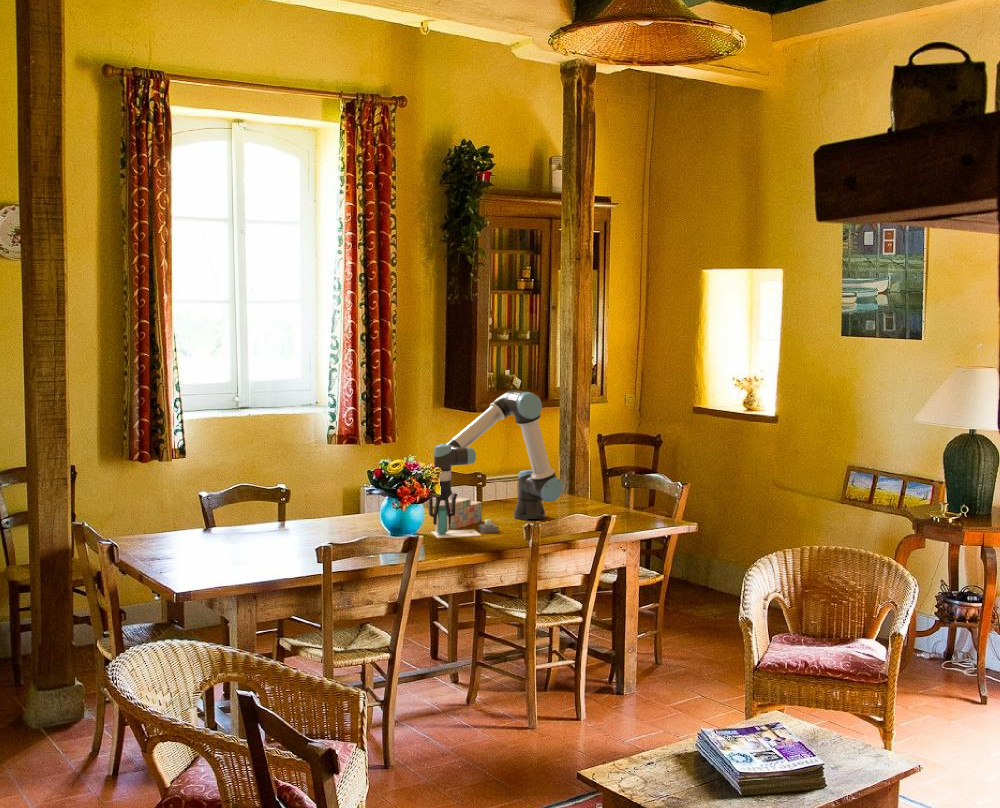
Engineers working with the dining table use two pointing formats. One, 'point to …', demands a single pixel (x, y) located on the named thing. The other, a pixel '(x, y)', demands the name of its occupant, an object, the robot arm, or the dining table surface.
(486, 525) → the button
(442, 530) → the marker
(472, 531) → the sheet
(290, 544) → the dining table surface
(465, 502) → the stack of blocks
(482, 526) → the block
